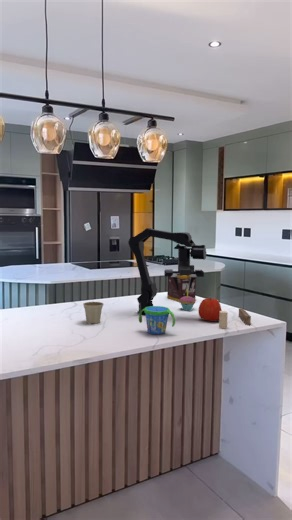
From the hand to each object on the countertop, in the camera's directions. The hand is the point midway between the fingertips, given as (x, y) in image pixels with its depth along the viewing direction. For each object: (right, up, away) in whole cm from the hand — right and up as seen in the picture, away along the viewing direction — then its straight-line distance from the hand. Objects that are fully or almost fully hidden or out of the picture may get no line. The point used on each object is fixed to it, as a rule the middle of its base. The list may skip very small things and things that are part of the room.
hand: (183, 290), depth 187 cm
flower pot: (-42, -14, -9) cm, 46 cm away
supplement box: (+3, -9, +45) cm, 46 cm away
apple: (+12, -14, -4) cm, 19 cm away
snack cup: (-14, -16, -25) cm, 33 cm away
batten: (+28, -14, -5) cm, 32 cm away
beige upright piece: (+16, -14, -5) cm, 22 cm away
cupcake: (+4, -12, +18) cm, 22 cm away
